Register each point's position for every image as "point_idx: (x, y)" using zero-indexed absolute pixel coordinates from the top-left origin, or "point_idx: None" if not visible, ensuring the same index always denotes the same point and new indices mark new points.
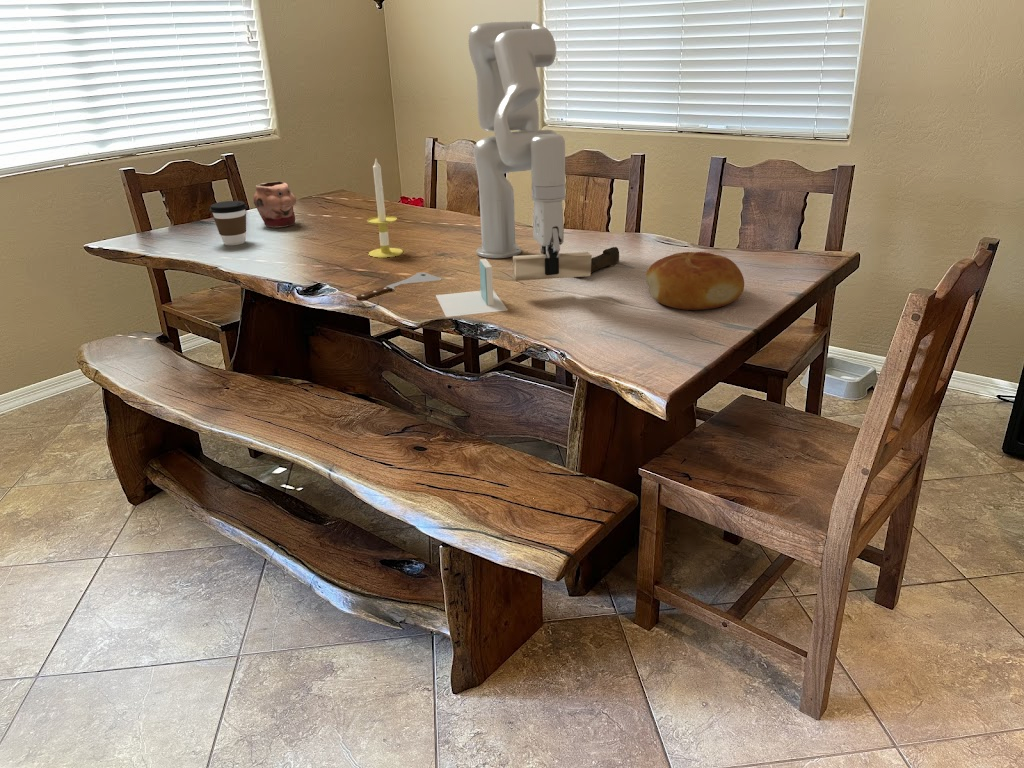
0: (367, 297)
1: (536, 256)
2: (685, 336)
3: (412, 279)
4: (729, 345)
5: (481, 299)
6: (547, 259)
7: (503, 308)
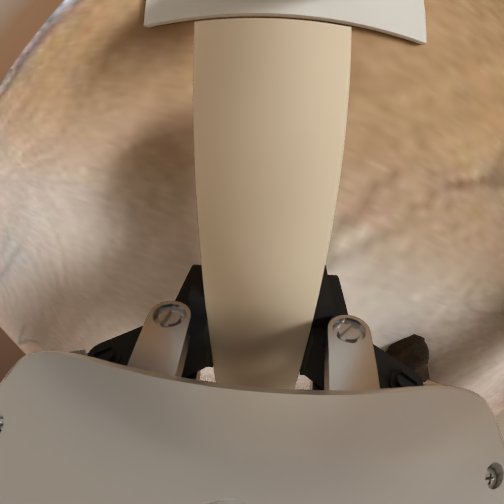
0: None
1: (265, 255)
2: (28, 332)
3: None
4: (20, 347)
5: None
6: (191, 302)
7: (166, 11)
